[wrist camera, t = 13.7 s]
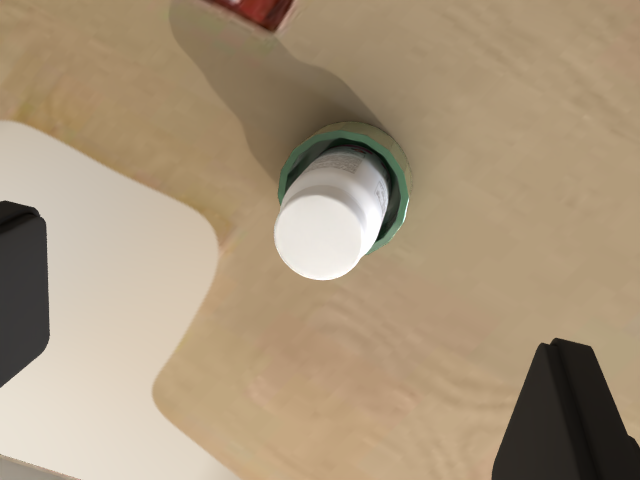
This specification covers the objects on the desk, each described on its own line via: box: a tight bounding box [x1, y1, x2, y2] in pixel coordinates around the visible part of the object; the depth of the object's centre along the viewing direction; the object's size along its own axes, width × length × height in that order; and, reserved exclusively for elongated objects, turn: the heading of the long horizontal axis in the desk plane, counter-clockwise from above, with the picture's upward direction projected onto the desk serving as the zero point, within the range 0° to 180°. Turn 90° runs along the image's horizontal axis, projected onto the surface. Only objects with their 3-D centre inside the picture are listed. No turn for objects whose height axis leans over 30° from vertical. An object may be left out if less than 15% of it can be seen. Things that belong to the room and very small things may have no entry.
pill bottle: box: [274, 144, 391, 280], centre depth 28 cm, size 5×5×8 cm
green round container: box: [278, 121, 412, 255], centre depth 31 cm, size 7×7×3 cm
